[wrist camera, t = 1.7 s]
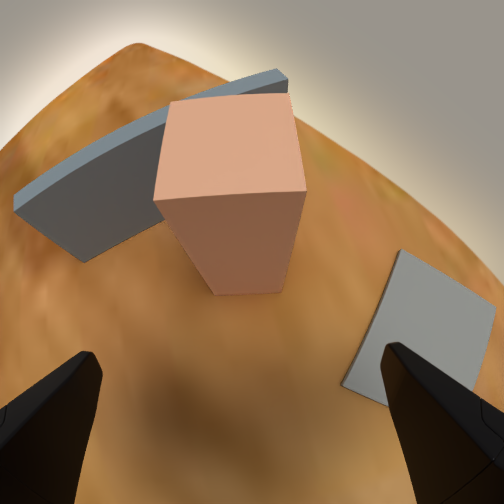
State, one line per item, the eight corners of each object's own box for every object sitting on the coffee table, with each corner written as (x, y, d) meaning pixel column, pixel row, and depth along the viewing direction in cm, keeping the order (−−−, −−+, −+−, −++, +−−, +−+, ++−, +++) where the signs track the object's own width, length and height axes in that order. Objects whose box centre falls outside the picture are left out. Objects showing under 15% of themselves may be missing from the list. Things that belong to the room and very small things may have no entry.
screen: (83, 262, 24) (13, 211, 14) (80, 249, 24) (13, 195, 15) (281, 166, 26) (288, 79, 17) (273, 155, 27) (276, 68, 18)
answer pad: (451, 431, 17) (454, 431, 17) (340, 385, 20) (342, 385, 19) (492, 308, 21) (496, 307, 20) (398, 251, 23) (401, 248, 23)
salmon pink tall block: (281, 292, 22) (306, 191, 9) (214, 295, 22) (153, 200, 9) (276, 229, 24) (288, 89, 11) (214, 232, 24) (171, 98, 11)
